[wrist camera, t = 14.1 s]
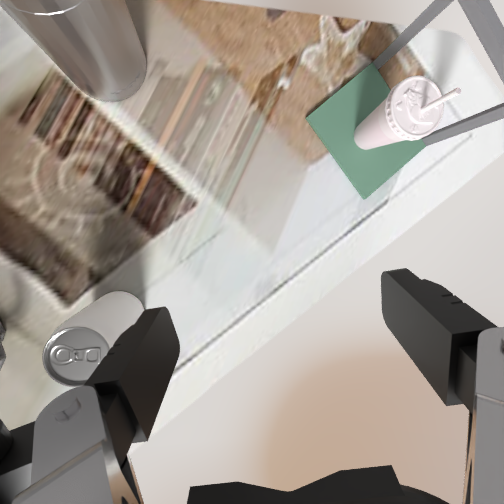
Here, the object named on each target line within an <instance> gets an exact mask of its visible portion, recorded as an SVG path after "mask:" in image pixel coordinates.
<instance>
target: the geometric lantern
mask: <svg viewBox="0 0 504 504" xmlns="http://www.w3.org/2000/svg"><path fill="white" fill-rule="evenodd" d="M0 331H1V333H0V370H1V368H2V365H3V363H4V361H5V359H6V354H5V351H4V348H3V346H2V343H1V342H2V341H3V339H4V335H5V330H4V328H3V325H2V323H1V321H0Z"/></svg>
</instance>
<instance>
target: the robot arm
mask: <svg viewBox="0 0 504 504" xmlns="http://www.w3.org/2000/svg"><path fill="white" fill-rule="evenodd" d="M0 6H1V7H2V8H3V9H4V10H5V11H6V12H7V13H8V14H9V15H10V16H11V17H12V18H13V19H14V20H15V21H16V22H17V24H18V25H19V26H20V27H21V28H22V29H23V30H24V31H25V32H26V33H27V34H28V35H29V36H30V37H31V38H32V39H33V40H34V41H35V42H36V43H37V45H38V46H39V47H40V48H41V49H42V50H43V51H44V52H45V53H46V54H47V55H48V56H49V57H50V58H51V59H52V60H53V61H54V62H55V63H56V64H57V66H58V67H59V68H60V69H61V70H62V71H63V72H64V73H65V74H66V75H67V76H68V77H69V78H70V79H71V80H72V82H73V83H74V84H75V85H76V86H77V87H78V88H79V89H80V90H82V91H83V92H84V93H85V94H87V95H89V96H91V97H93V98H95V99H98V100H101V101H108V102H114V101H121V100H124V99H127V98H128V97H130V96H132V95H133V94H134V93H135V92H136V91H137V90H138V89H139V88H140V87H141V85H142V83H143V81H144V78H145V75H146V67H147V65H146V57H145V54H144V51H143V48H142V45H141V43H140V40H139V37H138V35H137V32H136V29H135V26H134V24H133V21H132V18H131V16H130V13H129V10H128V8H127V5H126V2H125V0H0ZM381 293H382V313H383V317H384V320H385V323H386V325H387V327H388V328H389V329H390V331H391V332H392V333H393V335H394V336H395V338H396V339H397V340H398V341H399V343H400V344H401V346H402V347H403V348H404V350H405V351H406V352H407V354H408V355H409V356H410V358H411V359H412V360H413V362H414V363H415V365H416V366H417V367H418V368H419V370H420V371H421V373H422V374H423V375H424V377H425V378H426V379H427V381H428V382H429V383H430V384H431V386H432V387H433V389H434V390H435V392H436V393H437V394H438V396H439V397H440V398H441V400H442V401H443V402H444V404H445V405H446V406H450V405H458V404H464V405H465V406H466V407H467V409H468V410H469V418H468V433H467V448H466V462H465V477H464V478H465V479H464V491H463V502H462V504H504V327H497V326H496V325H494V324H493V323H492V322H490V321H489V320H488V319H486V318H485V317H484V316H482V315H481V314H480V313H478V312H477V311H475V310H474V309H473V308H471V307H470V306H469V305H467V304H466V303H463V302H462V300H460V299H459V298H458V297H456V296H453V294H452V293H451V292H449V291H448V290H447V289H446V288H444V287H443V286H441V285H439V284H436V283H434V282H431V281H428V280H426V279H423V280H421V279H419V278H418V277H417V276H416V275H414V274H413V273H412V272H411V271H409V270H408V269H406V268H404V269H397V270H391V271H385V272H383V273H382V275H381ZM179 353H180V344H179V339H178V336H177V334H176V331H175V328H174V325H173V322H172V319H171V316H170V313H169V311H168V309H167V308H166V307H159V308H153V309H147V310H144V311H143V312H142V314H141V315H140V317H139V318H138V320H137V321H136V323H135V324H134V325H131V326H130V327H129V328H128V329H127V330H125V331H124V332H123V333H122V334H121V335H120V336H119V337H118V339H117V340H116V341H115V343H114V344H113V347H111V348H110V350H109V351H108V352H107V356H105V357H104V358H103V359H102V361H101V362H100V363H99V365H98V366H97V368H96V369H95V370H94V372H93V373H92V374H91V376H90V377H89V379H88V380H87V381H86V383H85V384H84V385H83V386H80V387H76V388H73V389H71V390H69V391H67V392H65V393H63V394H61V395H60V396H58V397H57V398H55V399H54V400H53V401H52V402H50V403H49V404H48V405H47V406H46V407H45V408H44V409H43V410H42V412H41V413H40V414H39V416H38V417H37V419H36V421H34V422H31V423H29V424H26V425H24V426H21V427H18V428H16V429H13V430H11V431H9V430H8V429H7V427H6V426H5V425H4V423H3V422H2V421H1V420H0V504H144V502H143V499H142V495H141V492H140V489H139V485H138V482H137V479H136V475H135V472H134V469H133V465H132V462H131V459H130V457H129V455H128V450H129V448H130V446H131V443H137V442H145V441H148V438H149V436H150V433H151V430H152V428H153V425H154V422H155V420H156V417H157V414H158V411H159V409H160V406H161V403H162V401H163V398H164V395H165V393H166V390H167V387H168V384H169V382H170V379H171V376H172V374H173V371H174V368H175V366H176V363H177V360H178V357H179ZM187 504H449V503H447V502H445V501H444V500H442V499H440V498H438V497H436V496H433V495H431V494H429V493H427V492H424V491H421V490H418V489H415V488H412V487H409V486H404V485H400V484H399V482H398V479H397V477H396V474H395V472H394V470H393V468H392V465H388V466H378V467H369V468H361V469H351V470H341V471H338V472H336V473H333V474H331V475H329V476H327V477H324V478H322V479H320V480H317V481H315V482H313V483H310V484H308V485H306V486H303V487H301V488H299V489H296V490H294V491H289V492H286V491H280V490H275V489H270V488H266V487H261V486H256V485H251V484H246V483H242V482H230V483H220V484H211V485H202V486H193V487H190V490H189V496H188V501H187Z"/></svg>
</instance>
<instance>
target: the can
mask: <svg viewBox="0 0 504 504" xmlns="http://www.w3.org/2000/svg"><path fill="white" fill-rule="evenodd" d="M143 311H144V308H143V305H142V303H141V302H140V301H139V299H138V298H136V297H135V296H134V295H132V294H130V293H127V292H123V291H115V292H111V293H108V294H106V295H104V296H102V297H101V298H99V299H98V300H96V301H94V302H93V303H91V304H90V305H88V306H87V307H85V308H84V309H82V310H81V311H79V312H78V313H77V314H75V315H74V316H72V317H71V318H69V319H68V320H66V321H65V322H64V323H62V324H61V325H60V326H59V327H58V328H57V329H56V330H55V331H54V332H53V334H52V335H51V337H50V339H49V340H48V342H47V343H46V345H45V347H44V350H43V357H42V358H43V365H44V368H45V370H46V372H47V373H48V375H49V376H50V377H51V378H52V379H53V380H55V381H56V382H58V383H60V384H62V385H65V386H69V387H80V386H83V385H84V384H85V383H86V381H87V380H88V379H89V377H90V376H91V374H92V373H93V372H94V370H95V369H96V368H97V366H98V365H99V363H100V362H101V361H102V359H103V358H104V357H105V356H107V352H108V351H109V350H110V348H111V347H113V344H114V343H115V341H116V340H117V339H118V337H119V336H120V335H121V334H122V333H123V332H124V331H125V330H127V329H128V328H129V327H130V326H131V325H134V324H135V323H136V321H137V320H138V318H139V317H140V315H141V314H142V312H143Z"/></svg>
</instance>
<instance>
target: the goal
mask: <svg viewBox="0 0 504 504" xmlns="http://www.w3.org/2000/svg"><path fill="white" fill-rule="evenodd" d="M452 1H454V0H435V1H434V2H433V3H432V4H431V5H430V6H429V7H428V8H427V9H426V10H425V11H424V12H423V13H422V14H421V15H420V16H419V17H418V18H417V19H416V20H415V21H414V22H413V23H412V24H411V25H410V26H409V27H408V28H407V29H406V30H405V31H403V32H402V33H401V34H400V35H399V36H398V37H397V38H396V39H395V40H394V41H393V42H392V43H391V44H390V45H389V46H388V47H387V48H386V49H385V50H384V51H383V52H382V53H381V54H380V55H379V56H378V57H377V58H376V59H375V60H374V61H373V62H372V63H371V64H370V65H369V66H367V67H366V68H365V69H364V70H363V71H361V72H360V73H359V74H358V75H357V76H355V77H354V78H353V79H352V80H351V81H350V82H348V83H347V84H346V85H345V86H344V87H342V88H341V89H340V90H339V91H338V92H336V93H335V94H334V95H333V96H332V97H330V98H329V99H328V100H327V101H326V102H324V103H323V104H322V105H321V106H320V107H318V108H317V109H316V110H315V111H314V112H312V113H311V114H310V115H309V116H308V117H307V118H306V120H307V121H308V123H309V124H310V125H311V127H312V128H313V130H314V131H315V132H316V134H317V135H318V137H319V138H320V139H321V141H322V142H323V144H324V145H325V146H326V148H327V149H328V151H329V152H330V153H331V155H332V156H333V158H334V159H335V160H336V162H337V163H338V165H339V166H340V167H341V169H342V170H343V172H344V173H345V174H346V176H347V177H348V179H349V180H350V181H351V183H352V184H353V186H354V187H355V188H356V190H357V191H358V192H359V194H360V195H361V197H362V198H363V199H366V198H367V197H368V196H370V195H371V194H372V193H373V192H374V191H375V190H376V189H378V188H379V187H380V186H381V185H382V184H383V183H384V182H386V181H387V180H388V179H389V178H390V177H391V176H393V175H394V174H395V173H396V172H397V171H398V170H399V169H401V168H402V167H403V166H404V165H405V164H406V163H407V162H409V161H410V160H411V159H412V158H413V157H414V156H415V155H417V154H418V153H419V152H420V151H421V150H422V149H424V148H425V147H426V146H428V145H431V144H434V143H436V142H439V141H442V140H445V139H447V138H450V137H453V136H456V135H458V134H461V133H464V132H467V131H469V130H472V129H475V128H478V127H481V126H483V125H486V124H489V123H492V122H494V121H497V120H500V119H503V118H504V103H502V104H500V105H497V106H495V107H492V108H490V109H487V110H485V111H483V112H480V113H478V114H475V115H473V116H471V117H468V118H466V119H463V120H461V121H458V122H456V123H454V124H451V125H449V126H446V127H444V128H442V129H439V130H437V131H434V132H432V133H431V134H429V135H427V136H425V137H423V138H421V139H419V140H413V141H410V140H404V141H400V142H396V143H392V144H388V145H384V146H380V147H376V148H372V149H368V150H364V149H361V148H359V147H358V146H357V144H356V143H355V140H354V132H355V129H356V127H357V126H358V125H359V124H360V123H361V122H362V121H363V120H364V119H365V118H366V117H367V116H368V115H370V114H371V113H372V112H373V111H374V110H375V109H376V108H377V107H378V106H379V105H380V104H381V103H382V102H383V101H384V100H385V99H386V98H387V97H388V94H389V93H390V91H391V90H390V89H389V87H388V85H387V84H386V82H385V81H384V79H383V78H382V76H381V74H380V73H379V71H378V69H379V68H380V67H382V66H383V65H384V64H385V63H386V62H387V61H388V60H389V59H390V58H391V57H393V56H394V55H395V54H396V53H397V52H398V51H399V50H400V49H401V48H402V47H403V46H405V45H406V44H407V43H408V42H409V41H410V40H411V39H412V38H413V37H414V36H415V35H417V34H418V33H419V32H420V31H421V30H422V29H423V28H424V27H425V26H426V25H427V24H428V23H430V22H431V21H432V20H433V19H434V18H435V17H436V16H437V15H438V14H439V13H441V12H442V11H443V10H444V9H445V8H446V7H447V6H448V5H449V4H450V3H451V2H452ZM458 2H459V3H460V5H461V7H462V9H463V11H464V12H465V14H466V16H467V18H468V20H469V21H470V23H471V25H472V27H473V29H474V31H475V32H476V34H477V36H478V37H479V40H480V41H481V43H482V45H483V47H484V48H485V51H486V52H487V54H488V56H489V58H490V60H491V61H492V63H493V65H494V67H495V69H496V70H497V72H498V74H499V76H500V78H501V80H502V81H503V83H504V27H503V25H502V23H501V22H500V20H499V18H498V16H497V14H496V12H495V10H494V8H493V6H492V5H491V3H490V1H489V0H458Z"/></svg>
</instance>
